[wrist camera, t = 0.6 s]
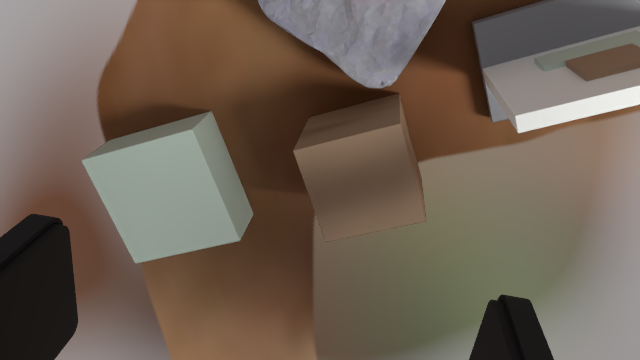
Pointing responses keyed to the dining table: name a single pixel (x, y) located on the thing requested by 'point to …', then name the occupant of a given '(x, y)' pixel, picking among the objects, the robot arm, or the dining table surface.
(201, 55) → the dining table surface
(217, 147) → the sage block
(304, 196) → the dining table surface
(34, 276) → the robot arm
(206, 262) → the dining table surface
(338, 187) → the walnut block
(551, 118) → the picture card
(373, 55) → the stone block
